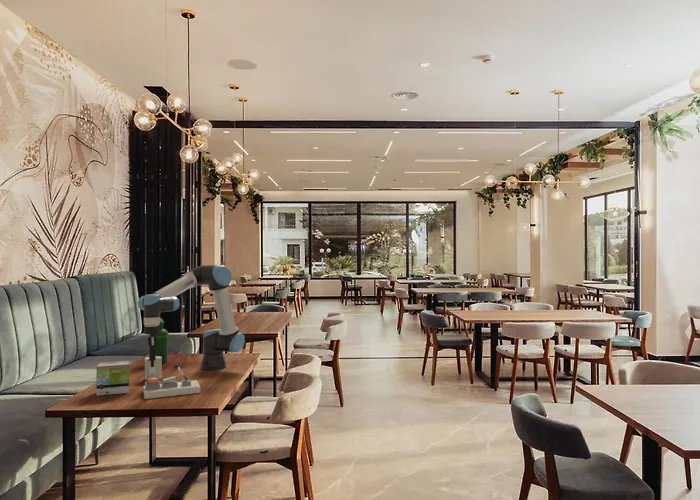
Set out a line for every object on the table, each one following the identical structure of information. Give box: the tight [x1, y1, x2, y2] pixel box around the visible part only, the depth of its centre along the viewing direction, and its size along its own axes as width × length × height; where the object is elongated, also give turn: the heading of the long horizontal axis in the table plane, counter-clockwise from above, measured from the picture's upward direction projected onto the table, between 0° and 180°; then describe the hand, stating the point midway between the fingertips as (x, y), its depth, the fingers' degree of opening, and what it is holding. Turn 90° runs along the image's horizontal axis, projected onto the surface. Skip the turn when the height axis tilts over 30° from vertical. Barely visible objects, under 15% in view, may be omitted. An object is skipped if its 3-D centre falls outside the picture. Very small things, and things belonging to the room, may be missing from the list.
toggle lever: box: [173, 363, 189, 380], centre depth 259 cm, size 2×2×10 cm
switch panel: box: [143, 378, 201, 400], centre depth 257 cm, size 26×14×6 cm, turn 114°
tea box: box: [95, 360, 130, 397], centre depth 258 cm, size 15×10×15 cm, turn 114°
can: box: [144, 356, 163, 381], centre depth 286 cm, size 9×9×12 cm
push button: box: [147, 378, 159, 384], centre depth 254 cm, size 5×5×3 cm
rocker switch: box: [162, 375, 177, 383], centre depth 257 cm, size 6×4×1 cm, turn 114°
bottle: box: [155, 318, 169, 365], centre depth 327 cm, size 11×11×28 cm
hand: (152, 373), depth 253 cm, fingers closed
